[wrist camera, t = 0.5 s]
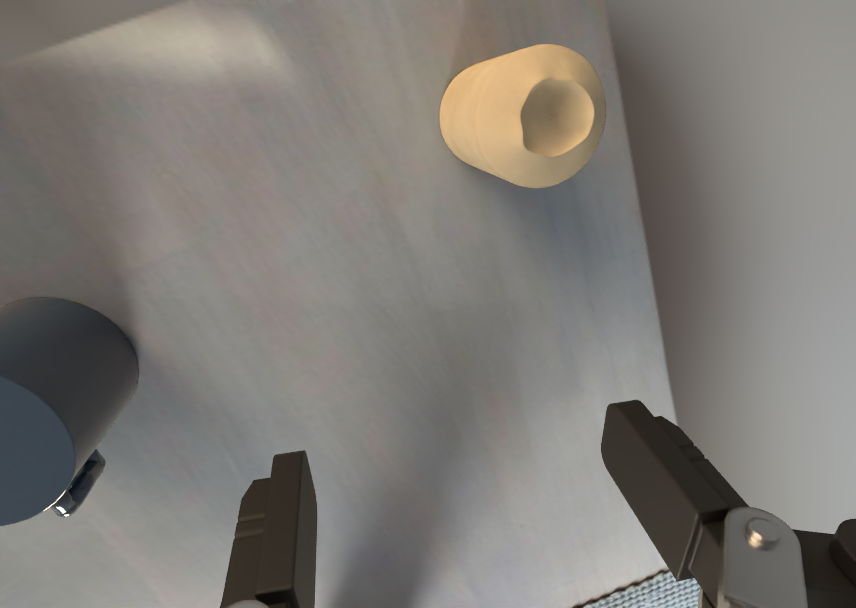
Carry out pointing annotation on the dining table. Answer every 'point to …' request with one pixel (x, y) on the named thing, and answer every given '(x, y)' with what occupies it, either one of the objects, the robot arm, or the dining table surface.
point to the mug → (57, 402)
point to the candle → (526, 115)
